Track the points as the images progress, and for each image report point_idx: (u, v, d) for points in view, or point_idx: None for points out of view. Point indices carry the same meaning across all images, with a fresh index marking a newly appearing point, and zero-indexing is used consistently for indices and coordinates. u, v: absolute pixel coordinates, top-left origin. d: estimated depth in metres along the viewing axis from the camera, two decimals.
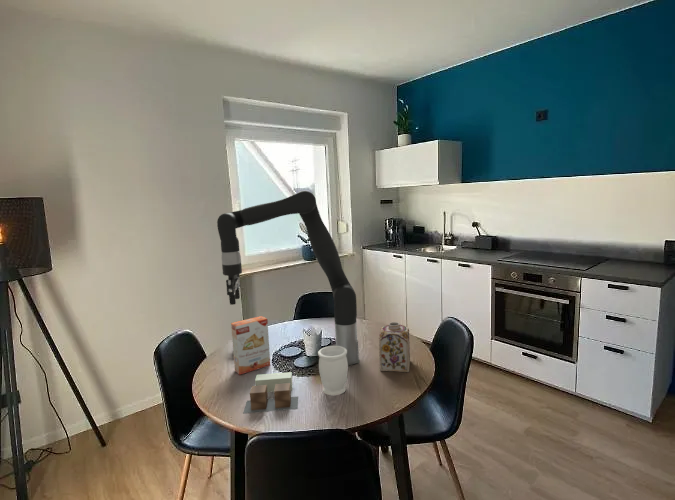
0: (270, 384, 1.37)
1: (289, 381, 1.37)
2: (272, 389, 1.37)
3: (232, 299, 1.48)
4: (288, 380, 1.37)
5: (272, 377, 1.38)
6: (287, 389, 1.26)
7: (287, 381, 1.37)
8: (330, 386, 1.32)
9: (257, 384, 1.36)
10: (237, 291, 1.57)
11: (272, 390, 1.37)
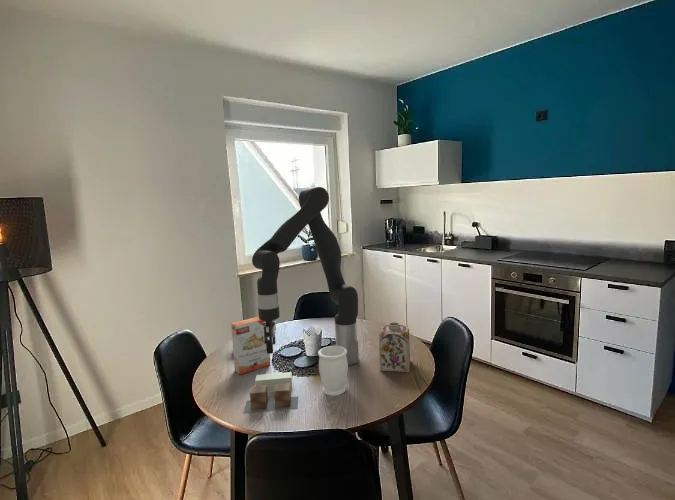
0: (270, 384, 1.37)
1: (289, 381, 1.37)
2: (272, 389, 1.37)
3: (270, 348, 1.32)
4: (288, 380, 1.37)
5: (272, 377, 1.38)
6: (287, 389, 1.26)
7: (287, 381, 1.37)
8: (330, 386, 1.32)
9: (257, 384, 1.36)
10: None
11: (272, 390, 1.37)
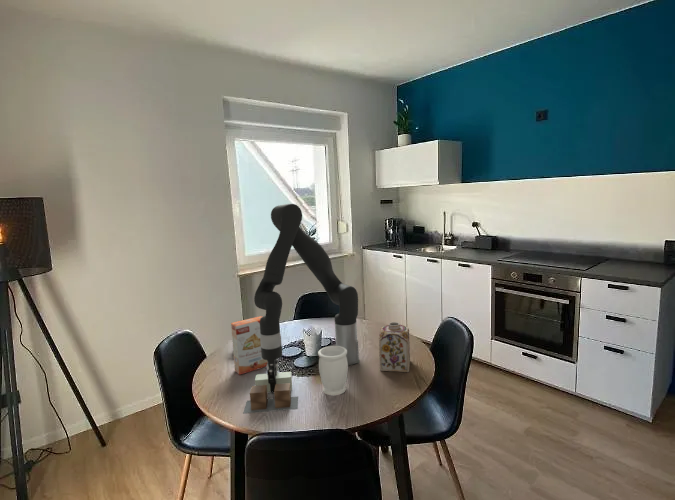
0: None
1: (289, 380, 1.37)
2: None
3: (273, 387, 1.35)
4: (288, 379, 1.37)
5: None
6: (287, 389, 1.26)
7: (287, 380, 1.37)
8: (330, 386, 1.32)
9: (257, 384, 1.36)
10: None
11: None
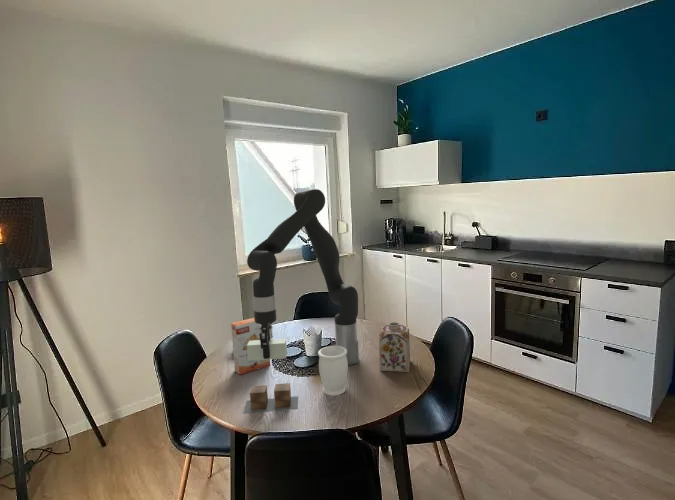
0: None
1: (283, 347, 1.29)
2: None
3: (266, 353, 1.28)
4: (282, 346, 1.29)
5: None
6: (287, 389, 1.26)
7: (281, 347, 1.29)
8: (330, 386, 1.32)
9: (249, 349, 1.29)
10: None
11: None
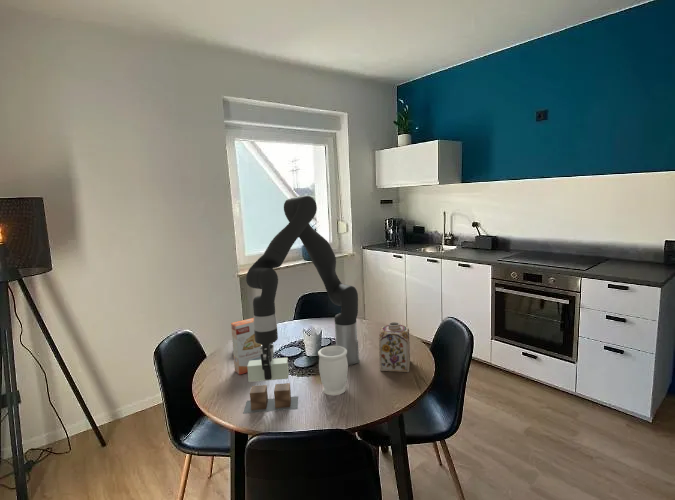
0: None
1: (285, 367, 1.25)
2: None
3: (268, 374, 1.23)
4: (284, 366, 1.25)
5: None
6: (287, 389, 1.26)
7: (283, 367, 1.25)
8: (330, 386, 1.32)
9: (249, 370, 1.24)
10: None
11: None
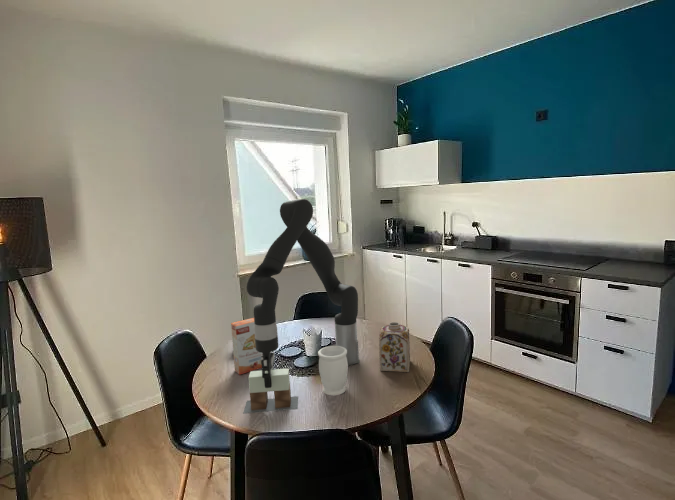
0: None
1: (286, 378, 1.25)
2: None
3: (268, 382, 1.22)
4: (285, 377, 1.25)
5: None
6: None
7: (283, 378, 1.25)
8: (330, 386, 1.32)
9: (251, 381, 1.24)
10: None
11: (267, 388, 1.25)
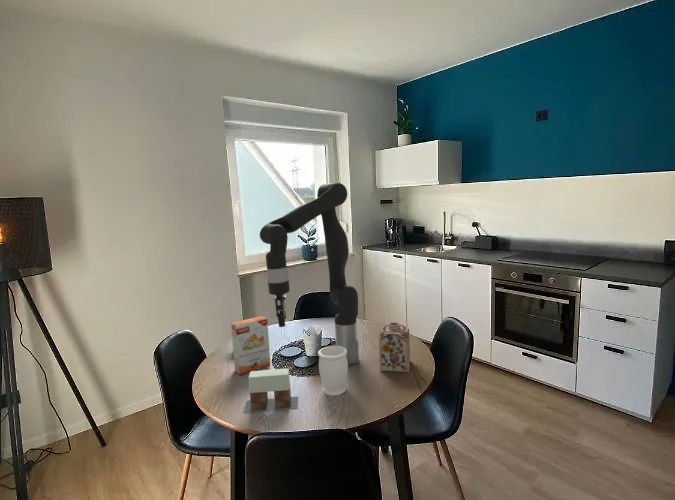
0: (265, 382, 1.25)
1: (286, 378, 1.25)
2: (267, 387, 1.25)
3: (282, 321, 1.32)
4: (285, 377, 1.25)
5: (267, 374, 1.26)
6: None
7: (283, 378, 1.25)
8: (330, 386, 1.32)
9: (251, 381, 1.24)
10: (283, 310, 1.41)
11: (267, 388, 1.25)
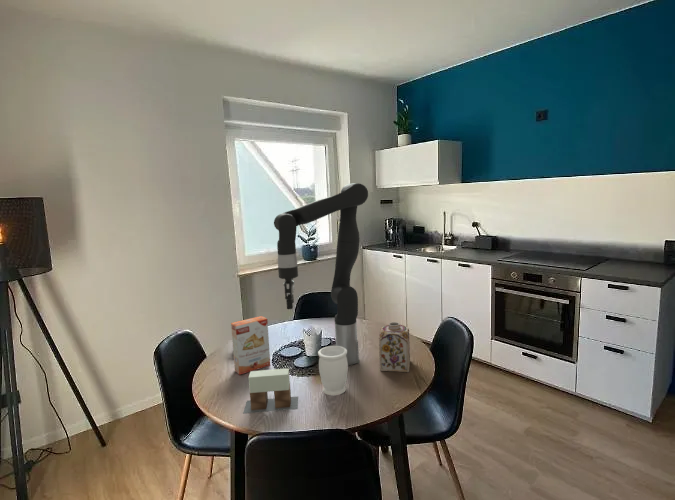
0: (265, 382, 1.25)
1: (286, 378, 1.25)
2: (267, 387, 1.25)
3: (290, 303, 1.42)
4: (285, 377, 1.25)
5: (267, 374, 1.26)
6: None
7: (283, 378, 1.25)
8: (330, 386, 1.32)
9: (251, 381, 1.24)
10: (291, 295, 1.51)
11: (267, 388, 1.25)
